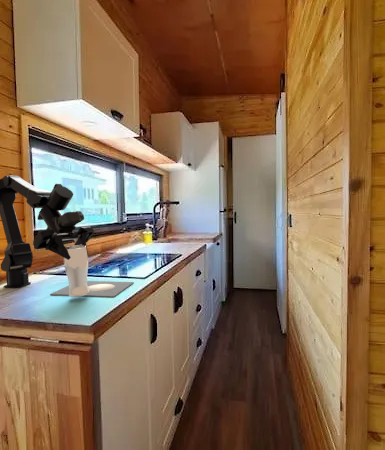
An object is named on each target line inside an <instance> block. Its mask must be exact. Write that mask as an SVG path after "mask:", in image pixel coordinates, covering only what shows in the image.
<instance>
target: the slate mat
mask: <svg viewBox="0 0 385 450" xmlns="http://www.w3.org/2000/svg"><path fill="white" fill-rule="evenodd" d="M133 284H134V281H109V280H108V281H105V280H87V285H88V289H89V294H87V295H85V296H84V297H90V298H93V297H94V298H115V297H117V296H118V295H119V294H121V293H122V292H124V291H125V290H126V289H128V288H129V287H130V286H132V285H133ZM127 287H128V288H127ZM123 290H124V291H123ZM49 294H50V296H59V297H60V296H63V297H64V296H66V297H70V296H69V285H67V286H65V287H63V288H60V289H58V290H55V291H53V292H52V293H49ZM116 295H117V296H116Z"/></svg>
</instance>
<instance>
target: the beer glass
mask: <svg viewBox="0 0 385 450" xmlns="http://www.w3.org/2000/svg"><path fill="white" fill-rule="evenodd" d="M86 246H87V244H86V245H74V244H73V245H68V246H65V248H66V250H67V252H68V254H69V256H70V257H71V258H70V259H69V260H67V259H66V258H64V257H63V265H64V270H65V273H66V278H67V281H68V286H69V296H68V297H70V298H81V297H86V296H85V295H87V294H89V289H88V285H87V281H88V270H89V257H88V256H87V251H88V249H87V250H86Z"/></svg>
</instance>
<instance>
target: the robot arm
mask: <svg viewBox="0 0 385 450" xmlns="http://www.w3.org/2000/svg"><path fill="white" fill-rule="evenodd" d="M17 194H19V195H21V196H23V197H24V198H25V199H26V201H25V202H26V204H27V205H28V206H30V207H31V208H32V209H40V211H39V212H38V215H37V221H44V223H45V225H46V226H47V227H46V229H41V230H39V231H38V233H37V234H36V236H35V237H34V239H33V242H32V244H33V246H34V248H35V249H36V250H42V249H44V250H46V251H50V252H52V253H54V254H56V255H59V256H61V257H62V258H63V259H64V258H66V259H67V260H69V259H70V258H71V257H70V256H69V254H68V252H67V250H66V248H65V247H66V246H65V245H64V242H63V241H70V240H73V241H74V244H73V246H74V245H86V250H87V256H88V255H89V251H88V247H87V246H88V245H87V243H88V242H89V240H90V239H91V238H92V237H93V235H94V233H95V230H94V228H93V227H92V226H81V227H80V228H79V229H78V230H77V232H75V231H74V230H75V229H76V228H77V226H76V225H78V224H79V223H82V221H84V220H85V216H84V214H83V212H82V211H80V210H78V211H77V210H76V211H67V212H64V213H63V214H62V212H61V211H65V209H66V208H67V207H68V205H69V204H70V202H71V200H72V199H73V197H74V192H73V191H72V190H71V189H70V188H68V187H66V186H63V184H62V183H54V186H53V189H52V190H51V191H50V190H46V189H43V188H42V189H41V188H38V187H36V186H34V185H32V184H31V183H29V182H28V181H26V180H24V179H23V178H22V177H21V176H19V175H12V174H11V175H10V174H8V175H4V176H3V177H2V178H0V220H1V224H2V229H3V231H4V234H5V241H6V243H7V245H6V247H5V250H4V257H3V260H2V262H0V270H1V271H3V272H5V275H6V276H5V277H6V278H5V279H6V284H5V285H3V288H10V289H11V288H12V289H13V288H15V289H18V288H22V287H24V286H28V285H30V284H31V283H32V282H31V281H29V272H28V269H31V268H32V267H33V266H32V265H33V259H34V254H33V251H32V248H31V244H30V243H29V242H25V241H24V240H23V237H22V232H21V229H20V225H19V221H18V218H17V214H16V210H15V207H14V203H15V201H16V199H17Z"/></svg>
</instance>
